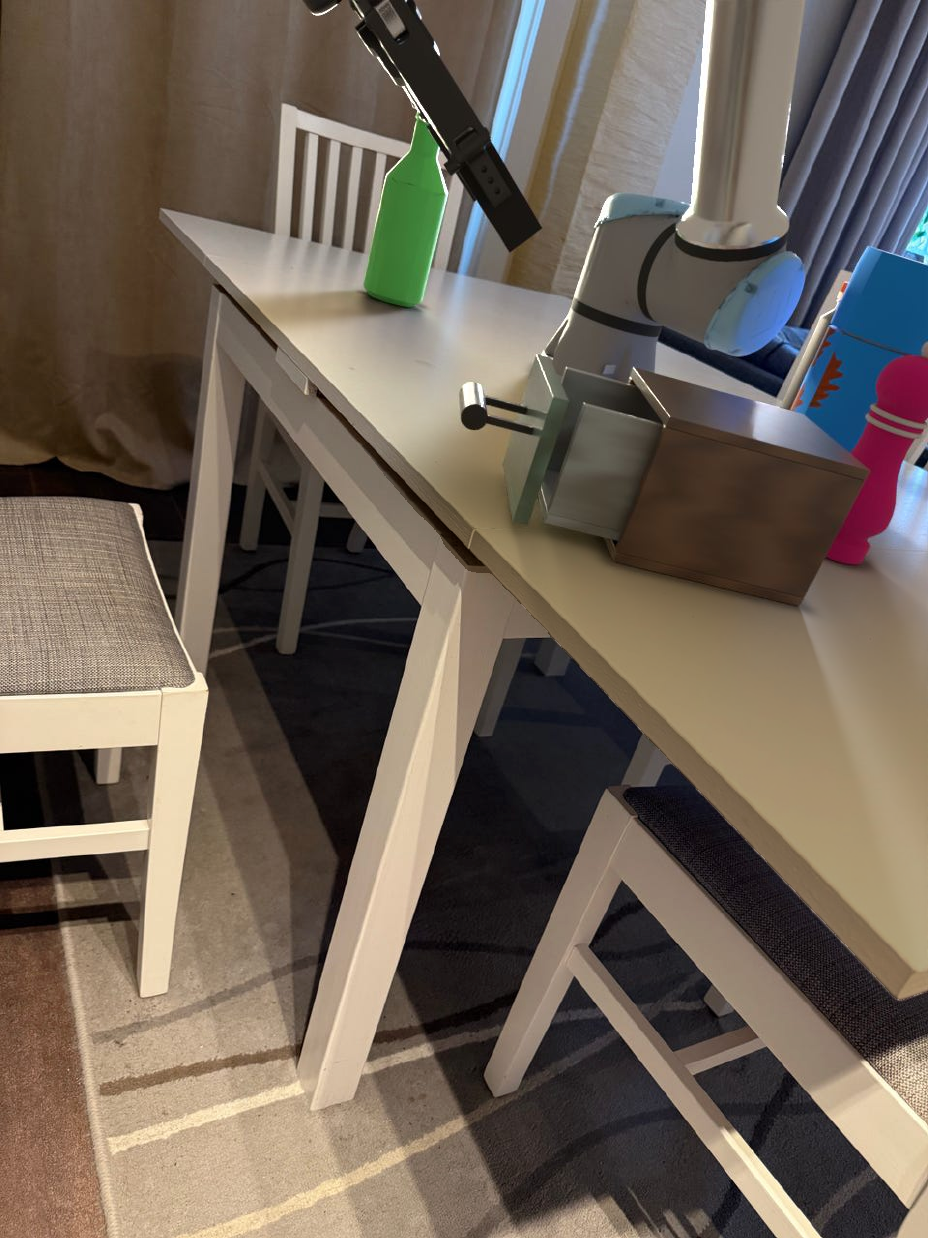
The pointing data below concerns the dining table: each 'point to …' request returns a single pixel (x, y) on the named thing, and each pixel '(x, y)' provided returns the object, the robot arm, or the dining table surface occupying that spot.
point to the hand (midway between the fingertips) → (504, 213)
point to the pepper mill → (884, 452)
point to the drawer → (571, 446)
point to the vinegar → (810, 354)
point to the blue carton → (865, 343)
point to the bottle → (407, 224)
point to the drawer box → (736, 493)
